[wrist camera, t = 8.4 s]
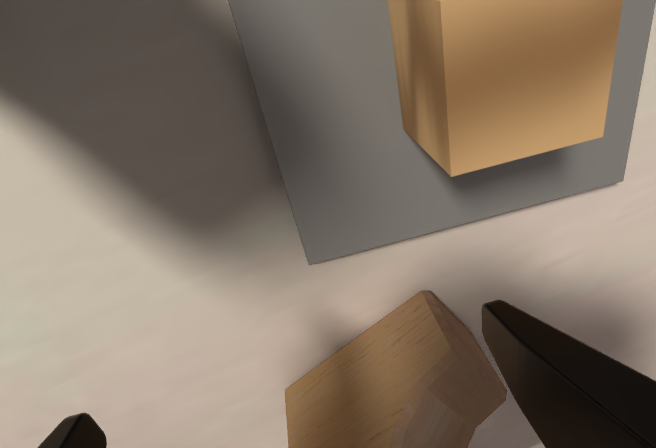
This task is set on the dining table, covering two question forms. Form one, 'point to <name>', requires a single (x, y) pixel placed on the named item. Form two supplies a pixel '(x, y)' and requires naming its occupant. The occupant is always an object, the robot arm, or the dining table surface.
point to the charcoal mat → (398, 129)
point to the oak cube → (502, 76)
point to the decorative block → (397, 386)
